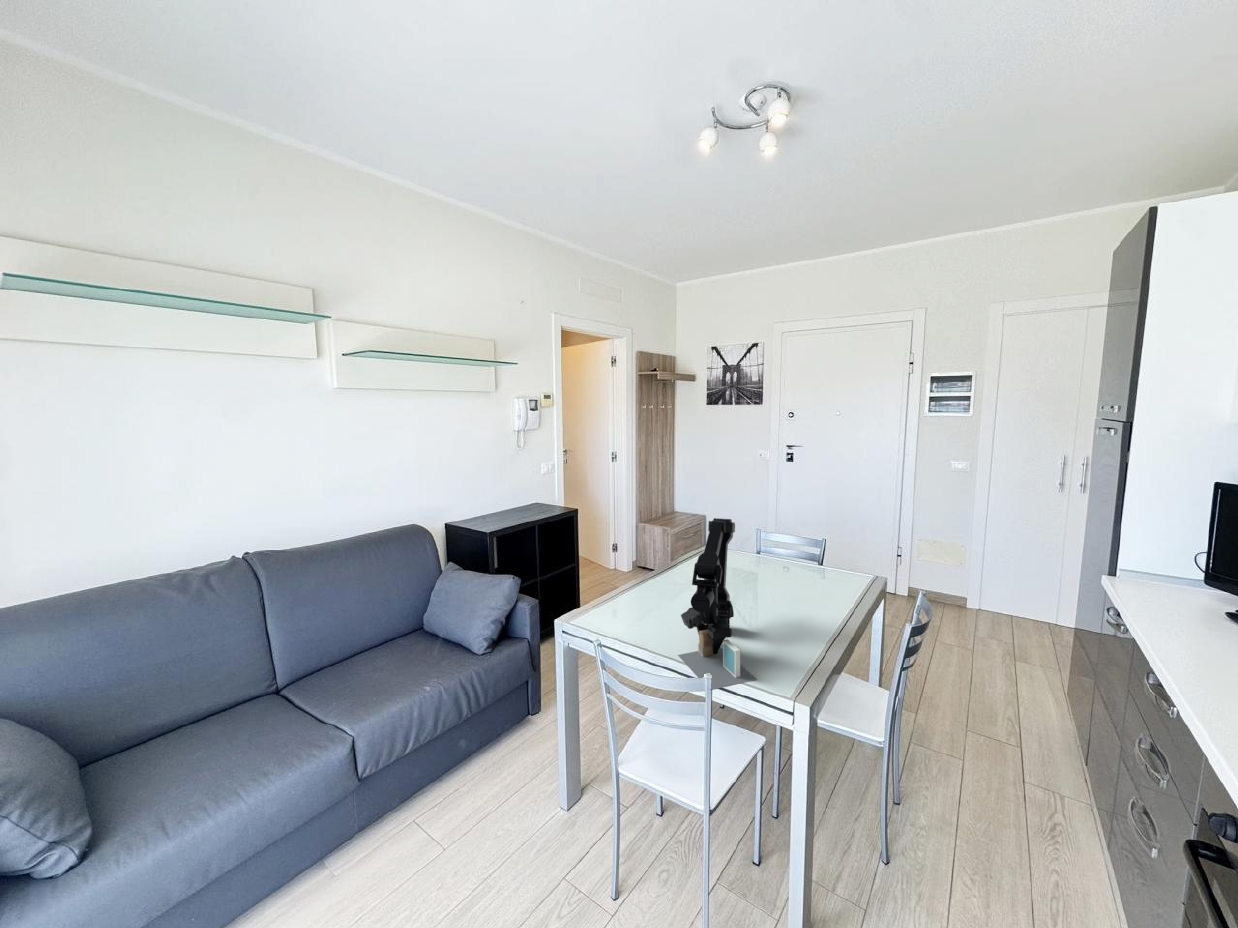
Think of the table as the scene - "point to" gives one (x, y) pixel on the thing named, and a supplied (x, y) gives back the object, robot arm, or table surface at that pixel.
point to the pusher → (705, 644)
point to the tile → (731, 658)
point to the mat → (715, 669)
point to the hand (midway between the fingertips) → (708, 648)
